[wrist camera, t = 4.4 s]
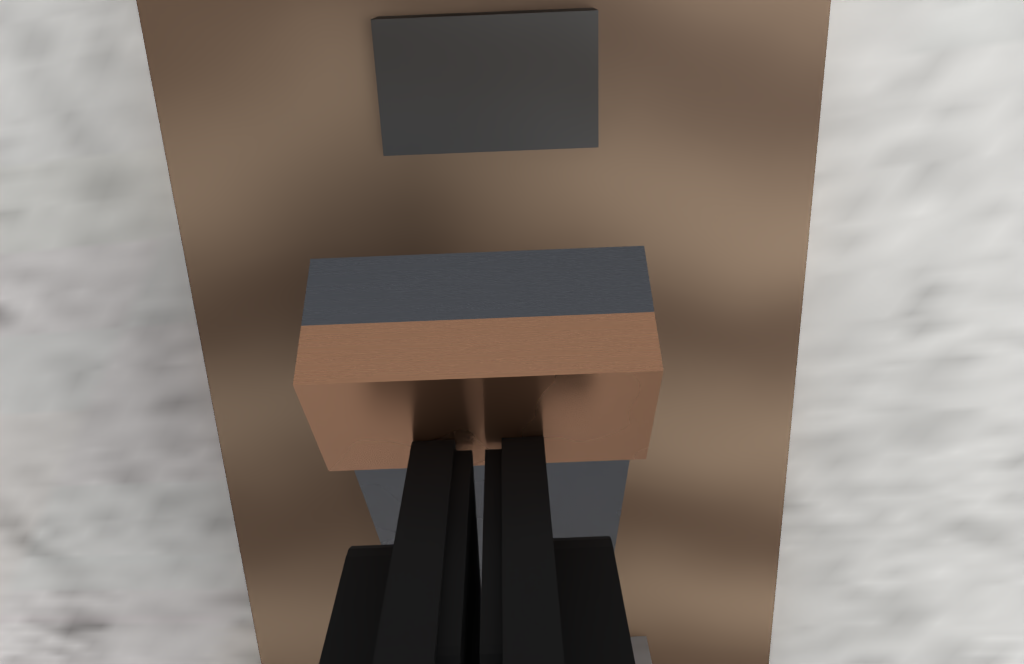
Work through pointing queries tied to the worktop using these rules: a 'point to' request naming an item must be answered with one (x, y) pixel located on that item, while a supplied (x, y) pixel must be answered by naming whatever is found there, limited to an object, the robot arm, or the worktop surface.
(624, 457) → the strap
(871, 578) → the worktop surface
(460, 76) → the latch board
